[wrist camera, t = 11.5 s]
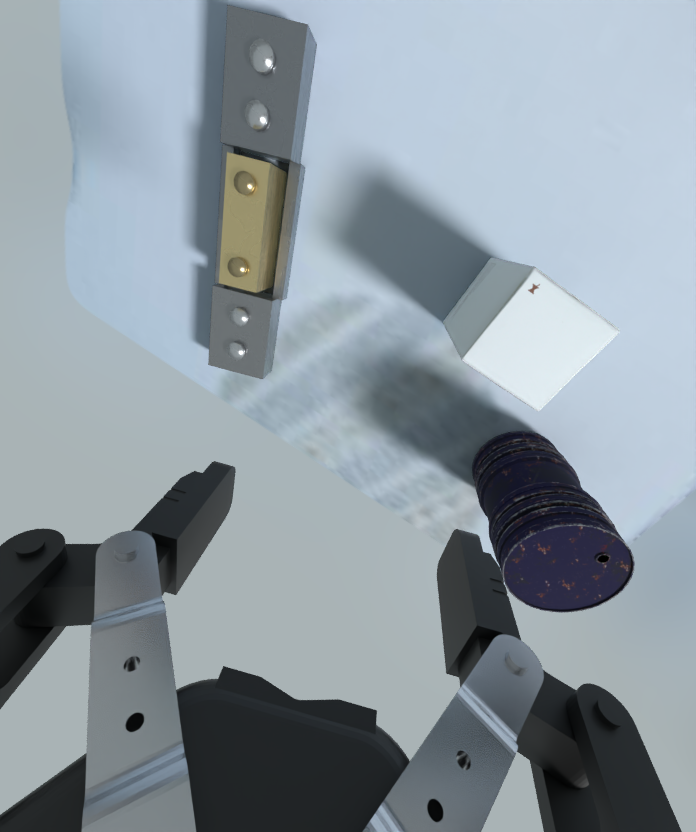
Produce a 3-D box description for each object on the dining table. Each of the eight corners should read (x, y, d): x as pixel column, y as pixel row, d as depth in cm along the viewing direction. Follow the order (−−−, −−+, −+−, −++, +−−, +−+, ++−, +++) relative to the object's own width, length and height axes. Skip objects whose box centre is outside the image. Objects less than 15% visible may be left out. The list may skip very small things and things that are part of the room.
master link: (250, 163, 33) (223, 150, 28) (287, 173, 33) (267, 161, 28) (240, 278, 38) (215, 283, 33) (273, 286, 38) (253, 293, 33)
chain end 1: (237, 25, 29) (217, -2, 26) (322, 45, 29) (312, 21, 26) (225, 219, 35) (207, 217, 32) (295, 237, 35) (284, 237, 32)
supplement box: (440, 322, 37) (456, 358, 26) (491, 254, 34) (536, 261, 22) (497, 362, 38) (538, 415, 26) (553, 300, 35) (626, 330, 23)
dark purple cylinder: (495, 513, 46) (533, 626, 32) (455, 456, 43) (478, 553, 30) (576, 479, 42) (656, 589, 29) (538, 414, 40) (607, 503, 26)
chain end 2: (225, 219, 35) (207, 217, 32) (295, 237, 35) (284, 237, 32) (216, 355, 42) (201, 365, 38) (275, 371, 41) (265, 382, 38)
